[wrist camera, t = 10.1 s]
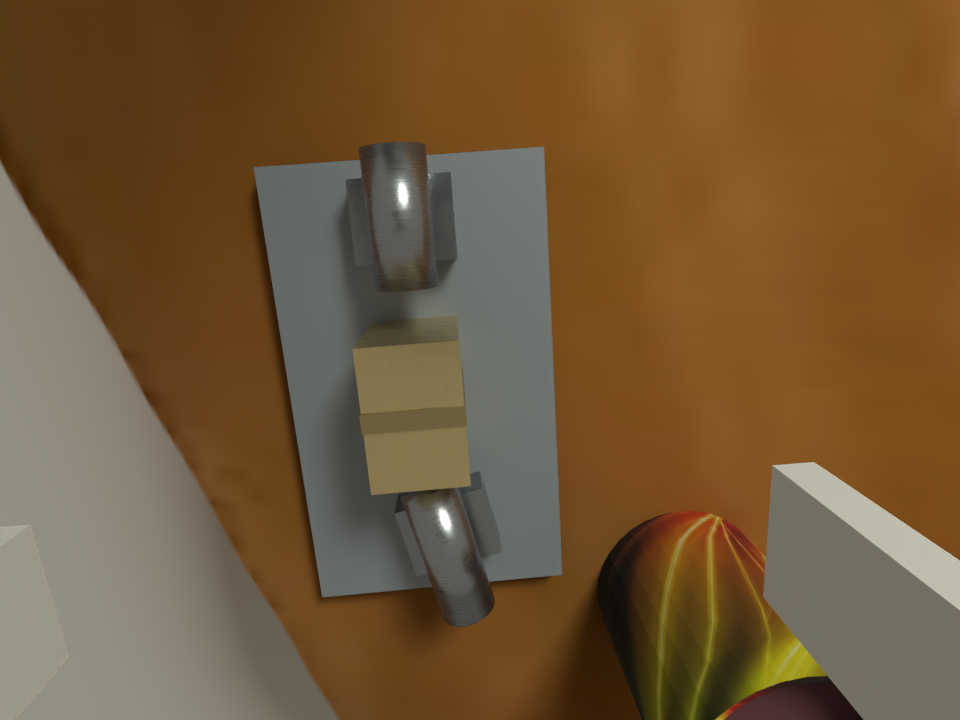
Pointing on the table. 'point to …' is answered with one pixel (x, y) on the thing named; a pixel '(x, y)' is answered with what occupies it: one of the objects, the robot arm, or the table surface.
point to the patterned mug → (706, 628)
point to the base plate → (483, 347)
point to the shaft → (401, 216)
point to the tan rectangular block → (413, 405)
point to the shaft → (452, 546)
